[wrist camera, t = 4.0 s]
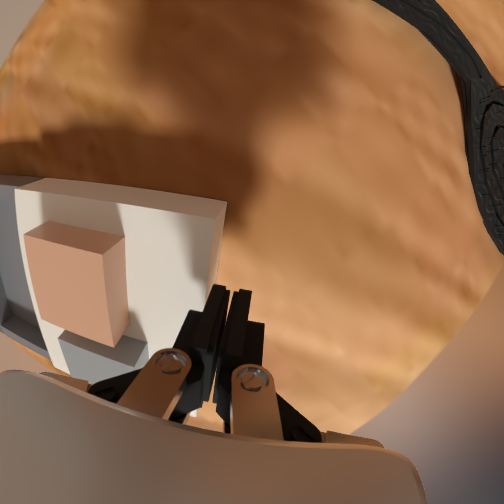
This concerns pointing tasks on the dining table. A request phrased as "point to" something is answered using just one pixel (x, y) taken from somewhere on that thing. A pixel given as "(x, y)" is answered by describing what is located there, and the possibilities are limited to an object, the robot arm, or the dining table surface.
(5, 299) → the tray
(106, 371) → the slate tile
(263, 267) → the dining table surface
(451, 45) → the hairbrush
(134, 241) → the board
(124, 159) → the dining table surface
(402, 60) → the dining table surface
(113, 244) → the terracotta tile
